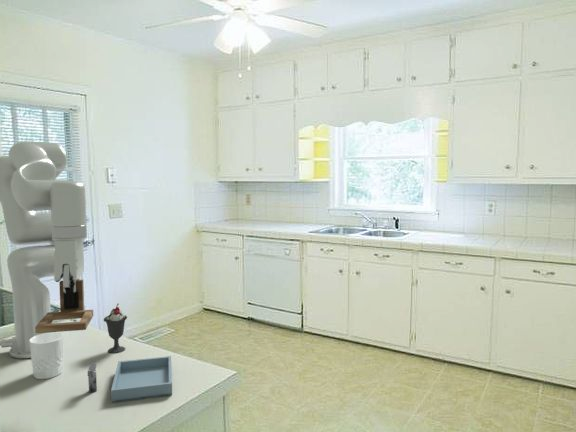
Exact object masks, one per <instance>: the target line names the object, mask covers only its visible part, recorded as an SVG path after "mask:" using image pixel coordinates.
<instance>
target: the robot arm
mask: <svg viewBox="0 0 576 432" xmlns="http://www.w3.org/2000/svg"><path fill="white" fill-rule="evenodd" d="M67 163H68V156H67V153H66V150H65V149H64V147H63V146H61V145H60V144H58V143H56V142H43V141H27V140H25V141H20V142H16V143H14V144H13V145H12V146H11V147H10V149H9V151H8V155H2V156H0V204H1V208H2V213H3V217H4V218H3V219H4V224H5V228H6V229H5V230H6V233H7V234H6V235H7V236H8V240H9V241H10V243H11V244H13V245H16V246H17V245H18V246H25V245H26V247H21V248H17V249H14V250H12V251H11V252H10V253H9V254H8V256H7V260H6V262H7V271H8V274H9V277H10V283H11V291H12V302H13V303H12V304H13V306H12V307H13V321H14V322H13V323H14V324H13V325H14V337H13V336H12V338H0V347H1V348H9V349H10V350H9V356H10V357H12V358H14V359H15V358H16V359H31V351H30V342H29V340H30V339H31V338H32V337H34V336H37V335H40V334H44V333H36V334H35V326H36V325H37V324H38V323H39V322H40V321H41V320H42V319H43V317H44V316H45V315H46V314H47V313H48V312H52V311H51V295H50V294H51V293H50V290H49V288H48V287H47V286H46V284H44V283H43V282H42V281H40V279H42V278H47V277H54V278H53V280H54V282H55V283H59V282H60V281H63V291H64V308H65V309H73V308H78V307H79V294H78V292H77V281H76V280H81V278H80V277H82V276H83V274H84V271H85V270H84V269H85V257H84V255H85V254H84V241H83V240H85V239H87V238H88V231H87V228H88V227H87V209H86V207H87V206H86V203H87V202H86V186H85V185H84V183H82V182H81V181H74V180H70V179H57V178H58V177H59V176H60V175H61V174H62V172H64V170H65V169H66V166H67V165H68V164H67ZM40 211H50V212H40ZM37 244H38V245H37ZM39 244H47V245H39ZM27 245H35V246H27ZM49 333H52V332H49Z"/></svg>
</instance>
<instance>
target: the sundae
mask: <svg viewBox="0 0 576 432" xmlns="http://www.w3.org/2000/svg"><path fill="white" fill-rule="evenodd" d="M119 304H120V303H117V304H116V306H115V308H112V310H111V311H110V313H109V315H107V316H105V317H104V318H103V321H104V322H105V323H106V326H107V332H108V336H109V337H110V338H111V339H112V340H113V342H114V344H113V346H112V347H110V348H109V349H108V350H107V352H108V353H110V354H119V352H120V353H121V352H124V351H125V350H126V347H125V346H121V345H120V344H119V339H120V338H121V337H122V336H123V335H124V330H125V323H126V320H127V318H128V316H127V315H126V314H124V313H123V311H122V310H121V308H120V307H119Z"/></svg>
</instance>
